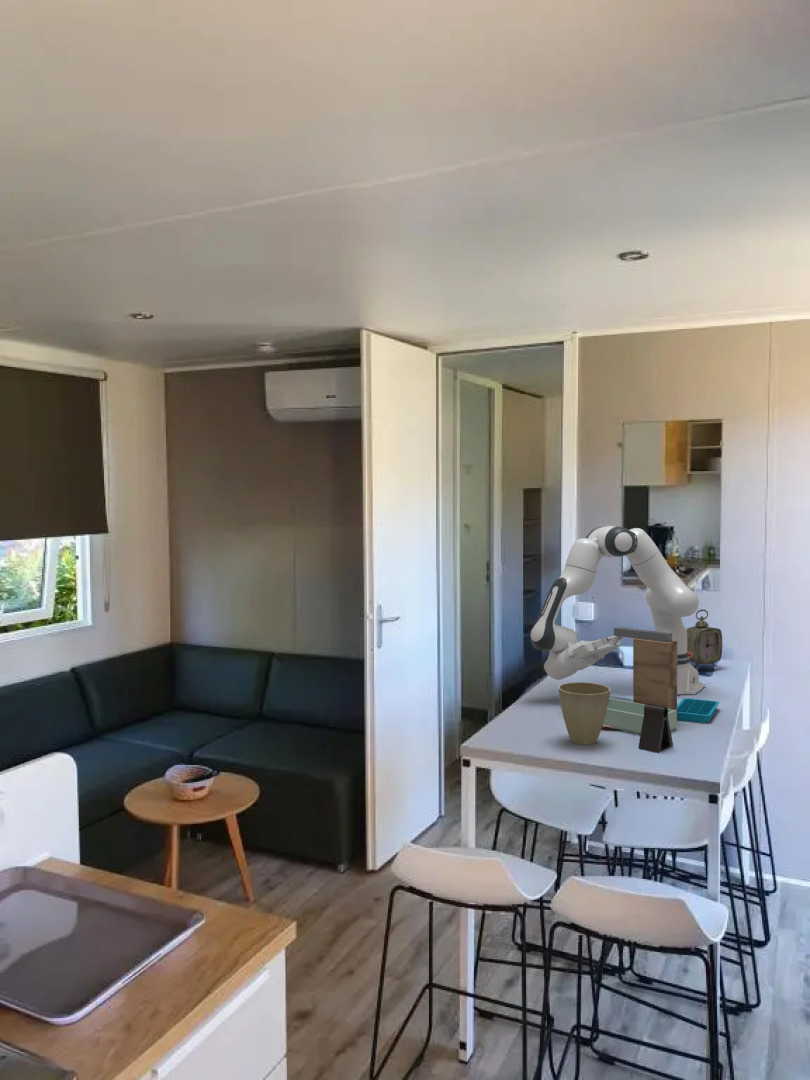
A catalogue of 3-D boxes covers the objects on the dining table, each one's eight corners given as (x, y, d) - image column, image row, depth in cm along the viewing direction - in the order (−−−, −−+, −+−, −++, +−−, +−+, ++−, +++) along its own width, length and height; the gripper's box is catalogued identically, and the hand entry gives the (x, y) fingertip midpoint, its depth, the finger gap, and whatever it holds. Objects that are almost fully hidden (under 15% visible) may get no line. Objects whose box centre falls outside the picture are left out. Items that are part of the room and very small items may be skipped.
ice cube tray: (719, 710, 279) (719, 701, 278) (709, 725, 261) (710, 715, 261) (683, 706, 284) (683, 697, 284) (671, 720, 267) (671, 711, 266)
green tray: (598, 713, 275) (598, 695, 275) (676, 729, 255) (676, 710, 255) (576, 721, 266) (576, 702, 266) (655, 738, 247) (655, 718, 246)
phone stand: (657, 753, 233) (657, 710, 232) (638, 748, 237) (638, 707, 237) (673, 746, 239) (673, 704, 239) (654, 741, 243) (654, 701, 243)
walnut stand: (642, 715, 272) (642, 636, 271) (677, 722, 264) (677, 640, 262) (633, 719, 268) (633, 639, 266) (667, 726, 259) (667, 643, 258)
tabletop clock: (697, 674, 332) (697, 612, 331) (679, 670, 340) (679, 609, 339) (722, 670, 339) (722, 609, 338) (704, 666, 347) (704, 606, 346)
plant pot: (562, 749, 238) (561, 693, 237) (555, 734, 253) (555, 682, 252) (615, 749, 237) (615, 693, 236) (605, 734, 252) (605, 682, 251)
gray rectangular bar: (618, 634, 275) (618, 627, 275) (672, 641, 262) (672, 633, 262) (613, 635, 273) (613, 628, 273) (667, 642, 260) (667, 634, 260)
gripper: (562, 650, 277) (593, 633, 268) (596, 641, 292) (626, 625, 283) (570, 667, 275) (601, 651, 267) (604, 658, 290) (634, 642, 281)
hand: (614, 637), depth 275 cm, fingers open, 8 cm apart
